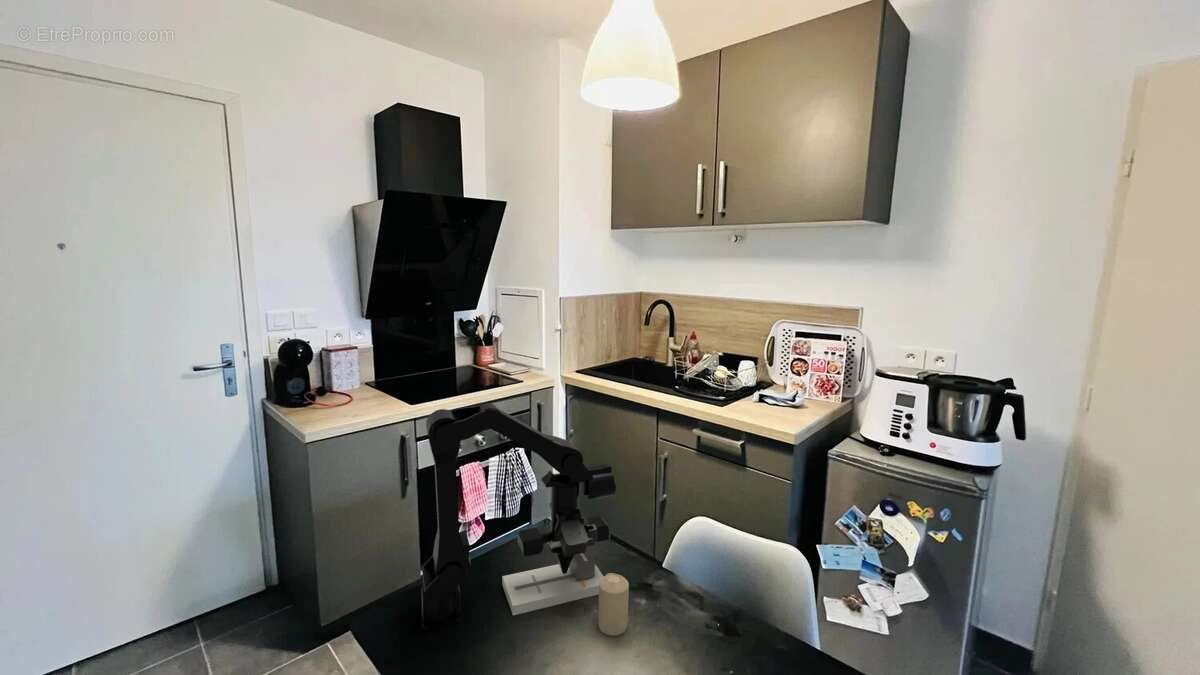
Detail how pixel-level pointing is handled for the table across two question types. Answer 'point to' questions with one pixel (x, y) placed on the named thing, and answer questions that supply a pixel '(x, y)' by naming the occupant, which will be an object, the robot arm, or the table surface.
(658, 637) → the table surface
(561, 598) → the slider track board
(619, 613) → the candle
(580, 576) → the fader
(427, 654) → the table surface
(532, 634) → the table surface
